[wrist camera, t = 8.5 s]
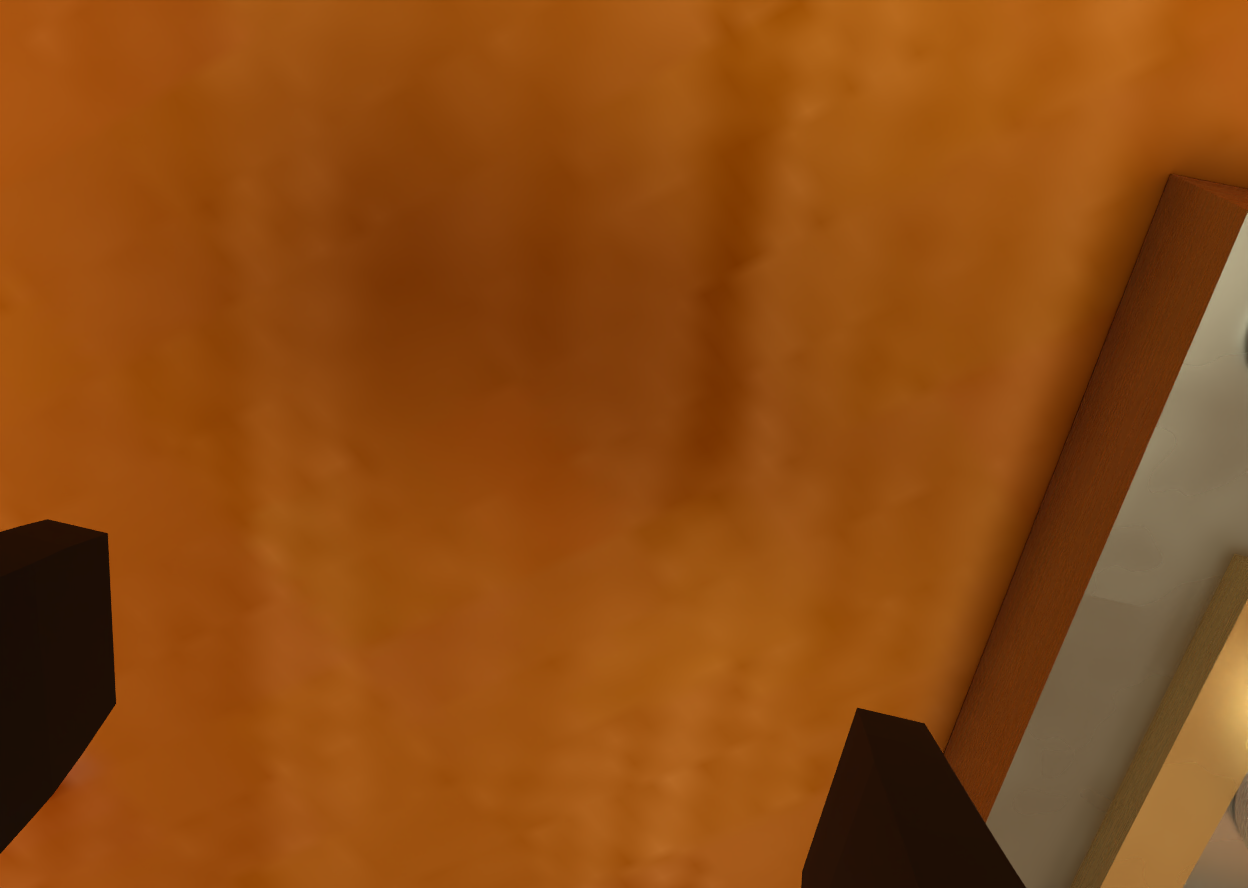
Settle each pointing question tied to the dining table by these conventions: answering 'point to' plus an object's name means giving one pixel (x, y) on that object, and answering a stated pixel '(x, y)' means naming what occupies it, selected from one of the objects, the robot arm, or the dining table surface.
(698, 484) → the dining table surface
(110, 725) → the dining table surface
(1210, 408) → the metal base plate
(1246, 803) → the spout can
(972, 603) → the dining table surface
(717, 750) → the dining table surface
